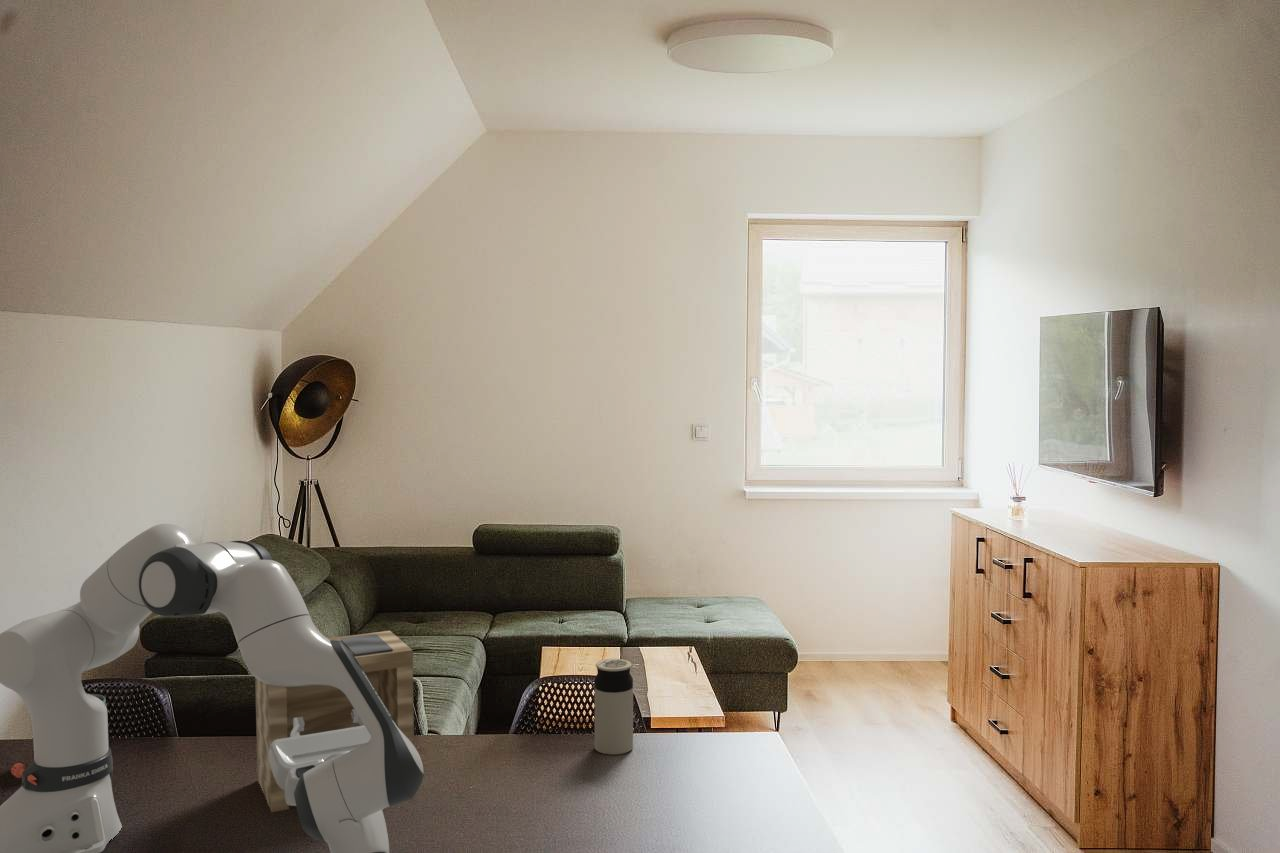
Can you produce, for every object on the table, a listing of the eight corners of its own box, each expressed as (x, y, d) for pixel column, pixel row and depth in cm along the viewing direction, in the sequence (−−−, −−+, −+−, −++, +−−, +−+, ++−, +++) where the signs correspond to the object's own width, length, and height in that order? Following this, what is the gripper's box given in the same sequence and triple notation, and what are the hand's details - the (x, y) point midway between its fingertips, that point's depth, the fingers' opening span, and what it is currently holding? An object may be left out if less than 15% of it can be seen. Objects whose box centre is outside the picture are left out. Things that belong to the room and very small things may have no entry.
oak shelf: (414, 784, 199) (412, 647, 197) (271, 812, 186) (268, 667, 185) (391, 756, 213) (389, 628, 211) (257, 780, 201) (254, 645, 199)
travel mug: (640, 746, 218) (640, 661, 217) (619, 758, 212) (619, 671, 210) (608, 739, 223) (608, 656, 221) (587, 750, 216) (586, 665, 215)
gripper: (411, 756, 168) (390, 692, 178) (278, 779, 159) (265, 711, 169) (405, 782, 171) (386, 718, 181) (275, 807, 162) (262, 738, 172)
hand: (326, 715), depth 175 cm, fingers open, 8 cm apart
